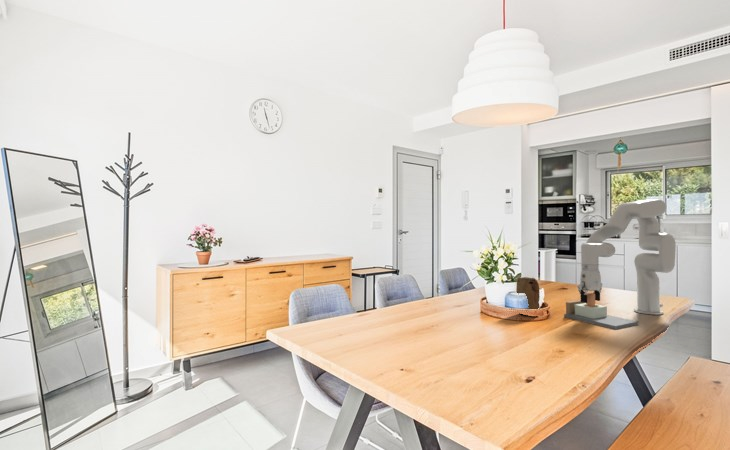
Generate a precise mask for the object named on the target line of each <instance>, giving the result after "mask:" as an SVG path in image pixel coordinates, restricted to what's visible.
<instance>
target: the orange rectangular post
mask: <svg viewBox="0 0 730 450" xmlns="http://www.w3.org/2000/svg"><path fill="white" fill-rule="evenodd" d="M586 295H587V303H586V306H589V307H595V304H596V300H595V294H594V293H593V292H587V294H586Z"/></svg>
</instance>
